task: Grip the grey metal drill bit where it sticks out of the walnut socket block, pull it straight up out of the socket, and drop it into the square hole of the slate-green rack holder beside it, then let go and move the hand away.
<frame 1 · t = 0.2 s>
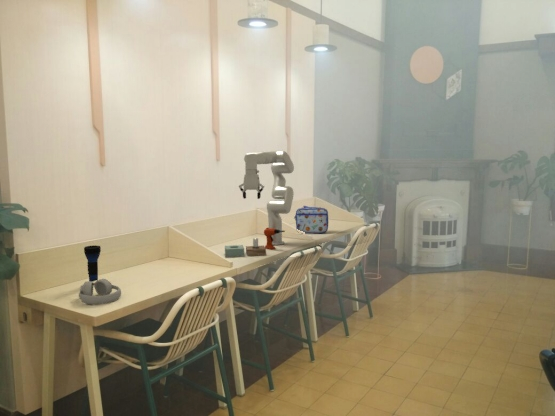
hand: (251, 198, 325), 36 cm above the table, tool pointing down, fingers open, 9 cm apart
toy drill: (274, 249, 339), on the table
headphones: (99, 299, 233), on the table
rack holder: (234, 254, 324), on the table
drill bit: (255, 246, 326), in the socket block
lunch box: (311, 233, 401), on the table
flashlight: (94, 285, 258), on the table
socket block: (255, 253, 326), on the table
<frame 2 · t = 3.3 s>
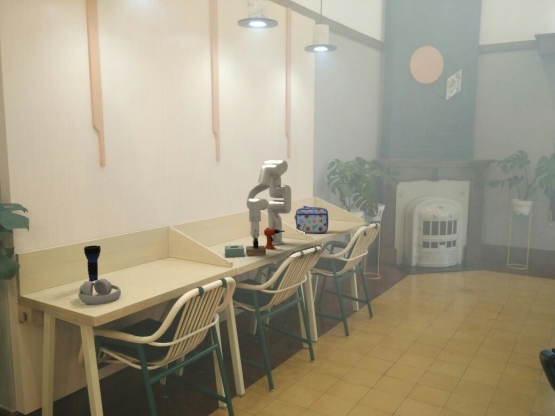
hand: (255, 246, 326), 5 cm above the table, tool pointing down, fingers closed on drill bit, 3 cm apart
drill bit: (255, 246, 326), in the socket block, touching gripper
everything else where it was.
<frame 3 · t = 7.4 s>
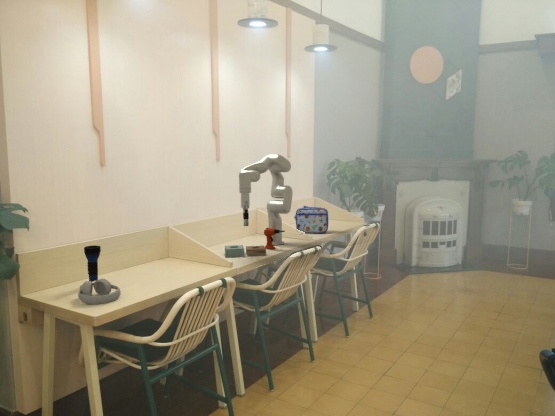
hand: (245, 218, 323), 23 cm above the table, tool pointing down, fingers closed on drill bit, 3 cm apart
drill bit: (245, 218, 323), point 24 cm above the table, touching gripper
everything else where it was.
when the fingers open (7 cm above the table, at t = 11.4 s): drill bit drops 1 cm, resting on rack holder.
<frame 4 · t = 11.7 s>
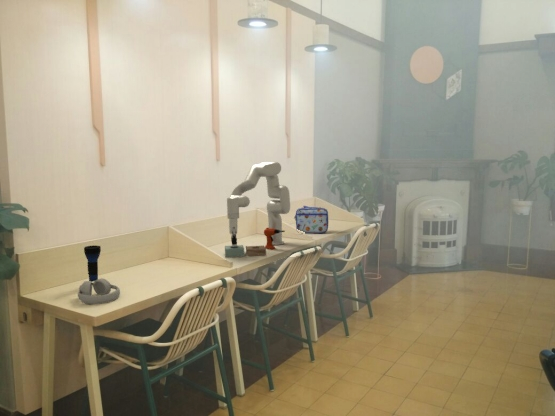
hand: (234, 243, 324), 8 cm above the table, tool pointing down, fingers open, 6 cm apart
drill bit: (234, 245, 324), in the rack holder, point 6 cm above the table
everything else where it was.
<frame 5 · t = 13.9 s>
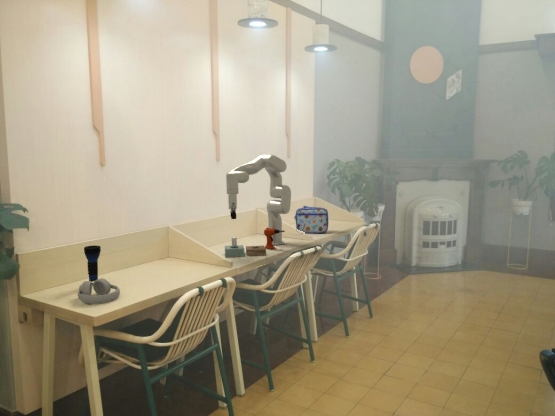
hand: (233, 217, 322), 24 cm above the table, tool pointing down, fingers open, 9 cm apart
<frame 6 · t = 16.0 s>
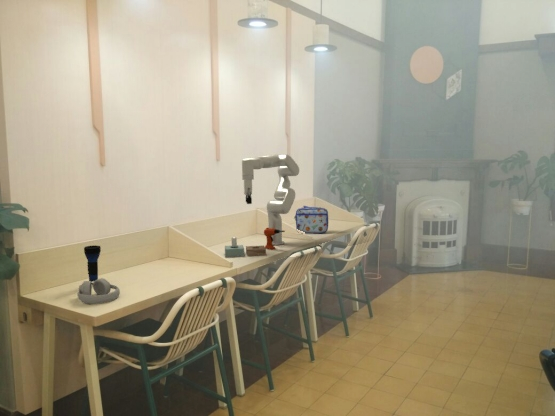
hand: (248, 203, 333), 32 cm above the table, tool pointing down, fingers open, 9 cm apart
at the end: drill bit 0.1 cm off-centre on the rack holder, point 6.0 cm above the rack holder's base; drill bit tilted 0°; the gripper is holding nothing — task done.
